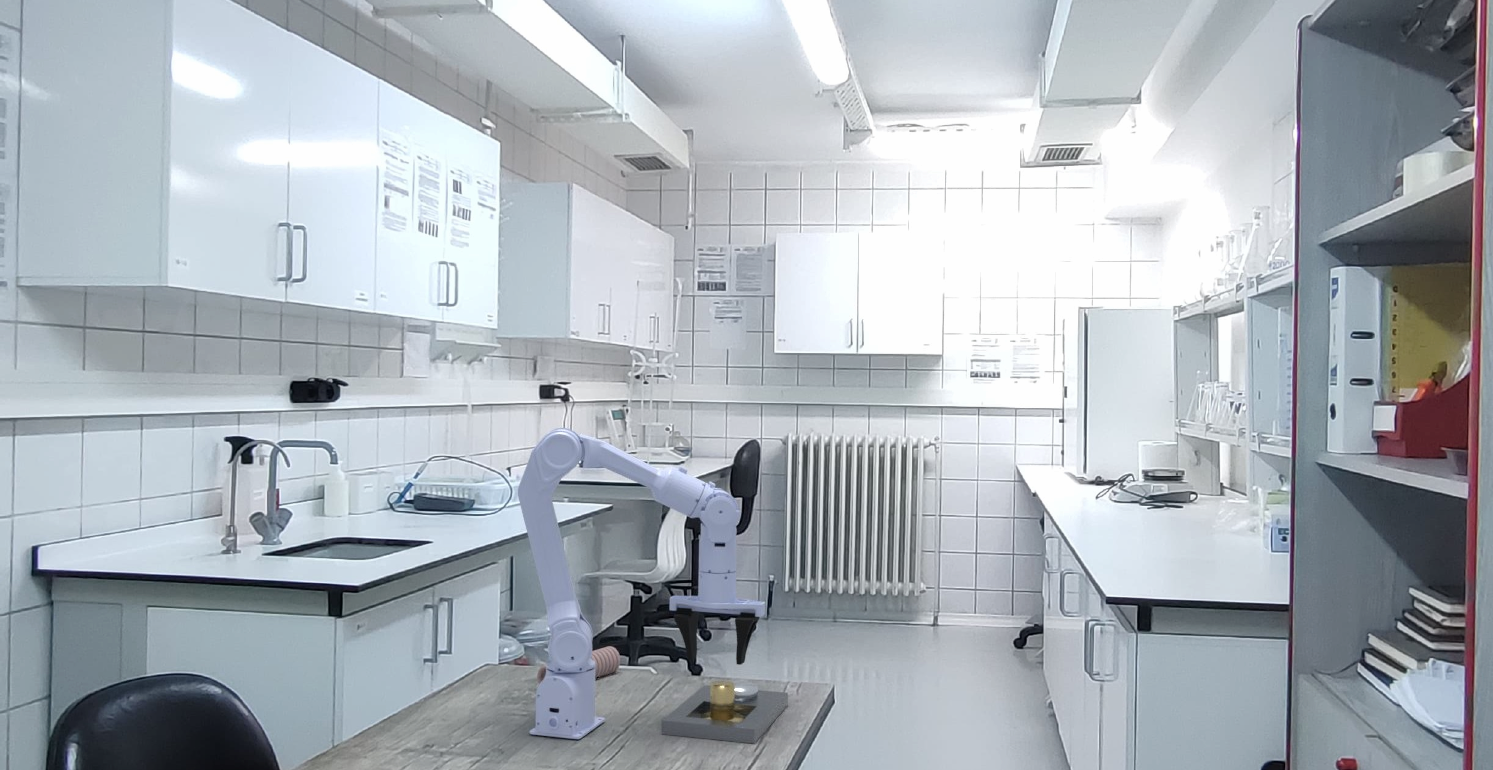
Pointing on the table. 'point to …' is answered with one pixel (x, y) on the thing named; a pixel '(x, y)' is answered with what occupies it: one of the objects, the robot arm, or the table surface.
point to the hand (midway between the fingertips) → (716, 661)
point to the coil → (596, 662)
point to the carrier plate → (747, 702)
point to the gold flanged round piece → (722, 702)
